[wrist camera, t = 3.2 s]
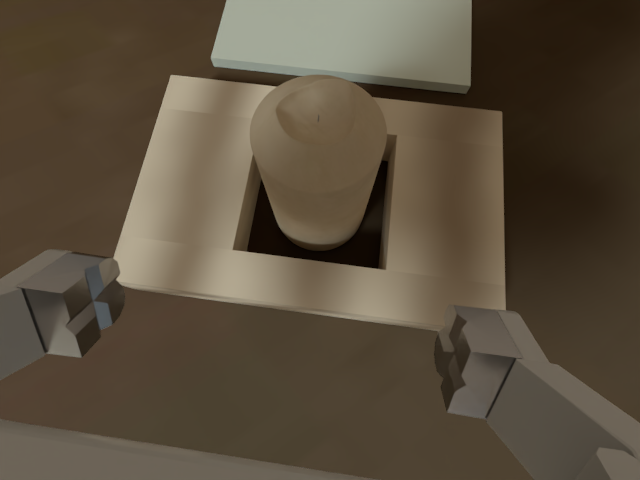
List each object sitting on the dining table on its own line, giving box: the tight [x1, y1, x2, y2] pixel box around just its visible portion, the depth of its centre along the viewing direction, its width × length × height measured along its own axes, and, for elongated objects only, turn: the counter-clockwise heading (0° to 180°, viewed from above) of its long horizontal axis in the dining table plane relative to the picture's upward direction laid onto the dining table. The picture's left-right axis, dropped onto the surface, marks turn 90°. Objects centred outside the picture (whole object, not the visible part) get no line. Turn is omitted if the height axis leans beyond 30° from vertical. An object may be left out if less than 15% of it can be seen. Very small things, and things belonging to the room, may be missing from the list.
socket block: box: [113, 75, 506, 331], centre depth 21 cm, size 20×13×3 cm, turn 82°
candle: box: [250, 75, 387, 251], centre depth 18 cm, size 6×6×10 cm
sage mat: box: [211, 0, 472, 94], centre depth 27 cm, size 18×12×1 cm, turn 82°
